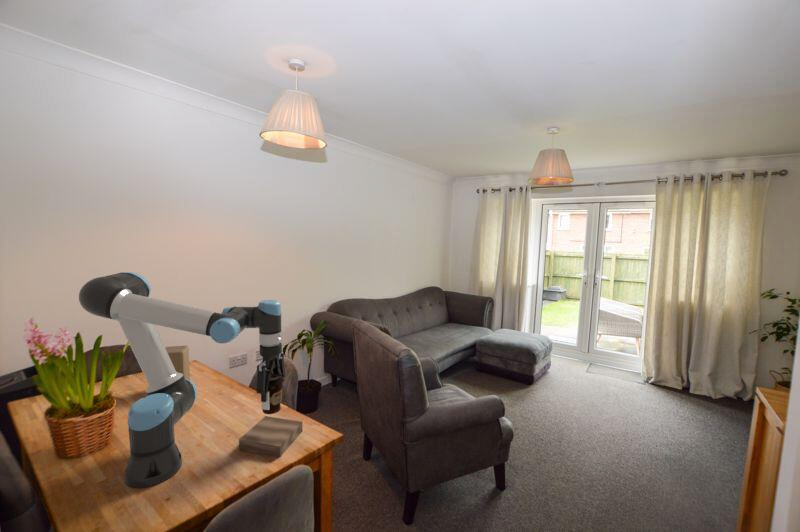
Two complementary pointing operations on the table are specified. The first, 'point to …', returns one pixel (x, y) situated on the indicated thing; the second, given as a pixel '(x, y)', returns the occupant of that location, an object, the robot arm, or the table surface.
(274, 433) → the block
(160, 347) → the robot arm
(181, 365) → the block
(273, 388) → the coffee cup
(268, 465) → the table surface
